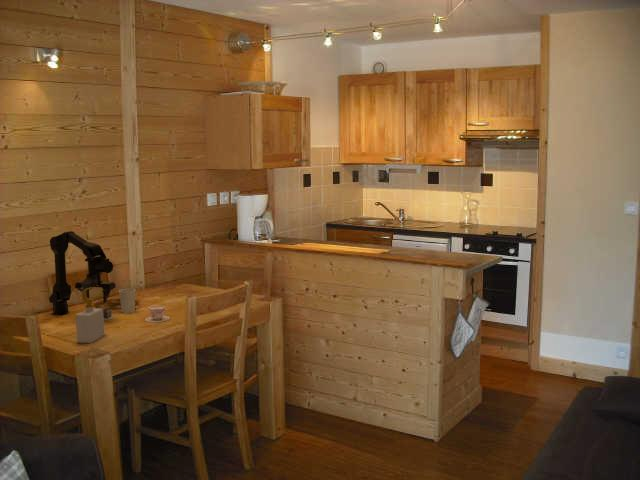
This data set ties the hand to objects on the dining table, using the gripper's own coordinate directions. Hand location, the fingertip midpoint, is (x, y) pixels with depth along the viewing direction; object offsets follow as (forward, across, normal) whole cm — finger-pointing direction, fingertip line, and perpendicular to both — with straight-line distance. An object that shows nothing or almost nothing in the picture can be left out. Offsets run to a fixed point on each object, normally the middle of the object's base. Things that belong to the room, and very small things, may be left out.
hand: (96, 302), depth 337 cm
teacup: (+10, +27, +9) cm, 30 cm away
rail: (+8, 0, 0) cm, 8 cm away
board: (+9, 0, 0) cm, 9 cm away
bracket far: (+8, 0, +4) cm, 9 cm away
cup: (+9, +8, +16) cm, 20 cm away
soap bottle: (+9, +14, -28) cm, 32 cm away
